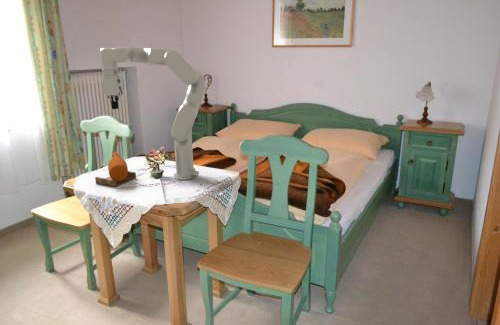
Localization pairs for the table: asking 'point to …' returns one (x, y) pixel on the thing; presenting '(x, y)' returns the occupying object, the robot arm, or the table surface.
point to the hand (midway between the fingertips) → (115, 108)
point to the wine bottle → (117, 168)
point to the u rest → (115, 183)
